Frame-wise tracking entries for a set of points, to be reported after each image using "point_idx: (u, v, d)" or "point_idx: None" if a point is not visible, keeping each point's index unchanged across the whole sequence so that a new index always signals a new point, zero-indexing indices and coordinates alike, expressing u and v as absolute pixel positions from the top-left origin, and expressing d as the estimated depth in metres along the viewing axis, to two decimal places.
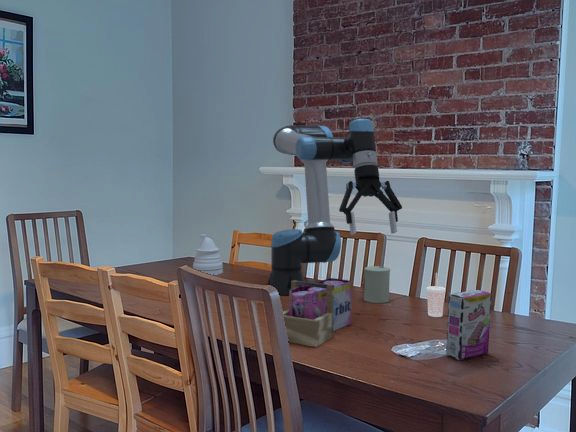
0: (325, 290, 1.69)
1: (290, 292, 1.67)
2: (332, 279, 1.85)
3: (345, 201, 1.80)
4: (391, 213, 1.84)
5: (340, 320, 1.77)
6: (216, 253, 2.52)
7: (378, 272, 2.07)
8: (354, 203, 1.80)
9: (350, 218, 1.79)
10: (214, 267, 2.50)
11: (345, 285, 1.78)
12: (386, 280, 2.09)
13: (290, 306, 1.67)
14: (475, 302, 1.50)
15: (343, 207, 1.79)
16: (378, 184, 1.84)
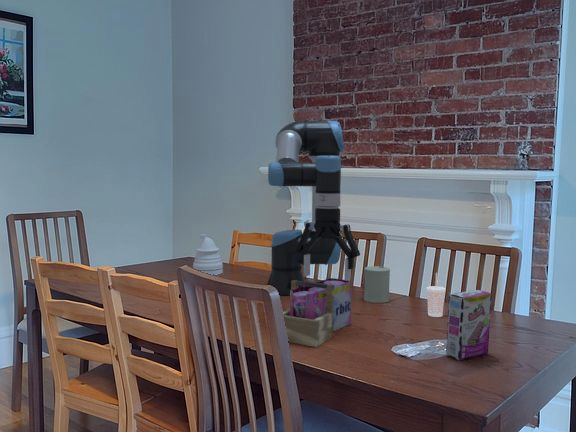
0: (326, 290, 1.69)
1: (291, 292, 1.67)
2: (332, 279, 1.85)
3: (299, 243, 1.80)
4: None
5: (340, 320, 1.77)
6: (216, 253, 2.52)
7: (378, 272, 2.07)
8: (308, 246, 1.79)
9: (303, 260, 1.81)
10: (214, 267, 2.50)
11: (345, 285, 1.78)
12: (386, 280, 2.09)
13: (291, 306, 1.67)
14: (475, 302, 1.50)
15: (297, 249, 1.81)
16: (335, 228, 1.74)
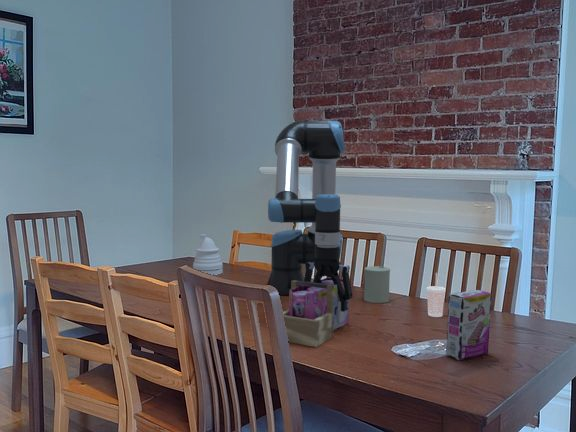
0: (325, 290, 1.70)
1: (290, 292, 1.67)
2: (330, 278, 1.85)
3: None
4: None
5: None
6: (216, 253, 2.52)
7: (378, 272, 2.07)
8: None
9: None
10: (214, 267, 2.50)
11: None
12: (386, 280, 2.09)
13: (290, 306, 1.67)
14: (475, 302, 1.50)
15: None
16: (334, 266, 1.76)
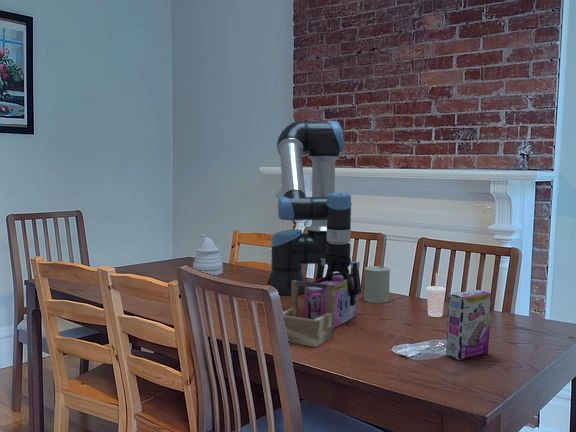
0: (337, 284, 1.77)
1: (305, 286, 1.74)
2: (337, 274, 1.93)
3: None
4: None
5: None
6: (216, 253, 2.52)
7: (378, 272, 2.07)
8: None
9: None
10: (214, 267, 2.50)
11: (352, 279, 1.87)
12: (386, 280, 2.09)
13: (305, 300, 1.74)
14: (475, 302, 1.50)
15: None
16: (345, 262, 1.83)
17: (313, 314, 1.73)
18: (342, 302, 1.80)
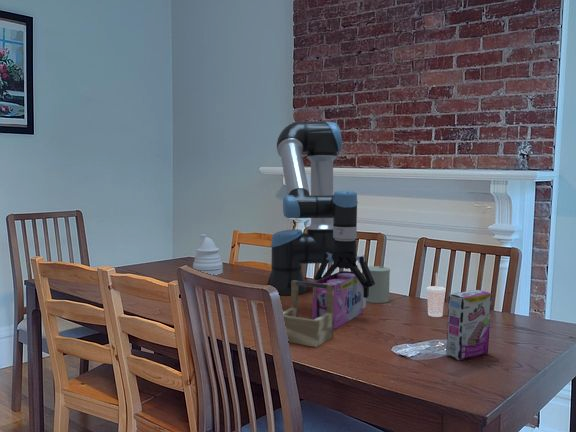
0: (345, 282, 1.81)
1: None
2: (343, 272, 1.97)
3: (318, 272, 1.93)
4: None
5: (355, 309, 1.89)
6: (216, 253, 2.52)
7: (378, 272, 2.07)
8: (326, 275, 1.92)
9: None
10: (214, 267, 2.50)
11: None
12: (386, 280, 2.09)
13: (314, 297, 1.78)
14: (475, 302, 1.50)
15: (315, 277, 1.93)
16: (351, 259, 1.87)
17: (322, 312, 1.77)
18: (349, 299, 1.85)
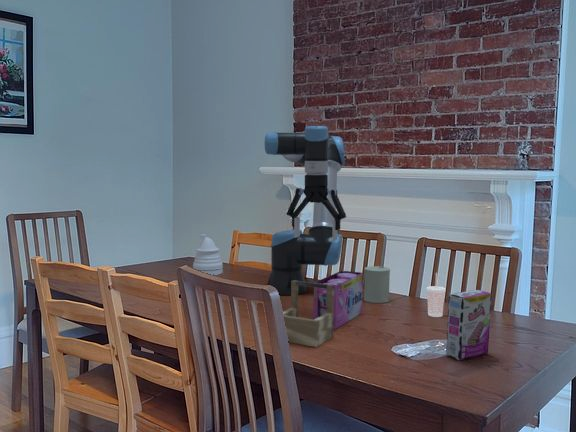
0: (346, 281, 1.81)
1: None
2: (343, 272, 1.97)
3: (290, 207, 1.96)
4: None
5: (355, 309, 1.90)
6: (216, 253, 2.52)
7: (378, 272, 2.07)
8: (298, 209, 1.95)
9: (294, 223, 1.97)
10: (214, 267, 2.50)
11: (358, 276, 1.91)
12: (386, 280, 2.09)
13: (315, 297, 1.78)
14: (475, 302, 1.50)
15: (287, 213, 1.97)
16: (323, 192, 1.90)
17: (323, 312, 1.77)
18: (350, 299, 1.85)
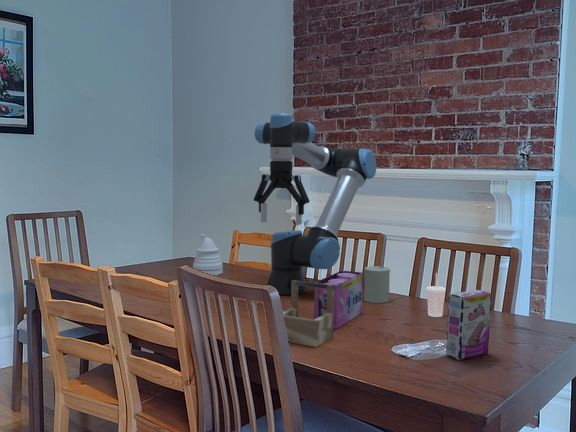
0: (346, 281, 1.81)
1: None
2: (343, 271, 1.97)
3: (257, 193, 2.02)
4: None
5: (355, 309, 1.90)
6: (216, 253, 2.52)
7: (378, 272, 2.07)
8: (264, 195, 2.01)
9: (260, 208, 2.02)
10: (214, 267, 2.50)
11: (358, 276, 1.91)
12: (386, 280, 2.09)
13: (316, 297, 1.78)
14: (475, 302, 1.50)
15: (254, 198, 2.02)
16: (287, 178, 1.96)
17: (323, 311, 1.77)
18: (350, 299, 1.85)
